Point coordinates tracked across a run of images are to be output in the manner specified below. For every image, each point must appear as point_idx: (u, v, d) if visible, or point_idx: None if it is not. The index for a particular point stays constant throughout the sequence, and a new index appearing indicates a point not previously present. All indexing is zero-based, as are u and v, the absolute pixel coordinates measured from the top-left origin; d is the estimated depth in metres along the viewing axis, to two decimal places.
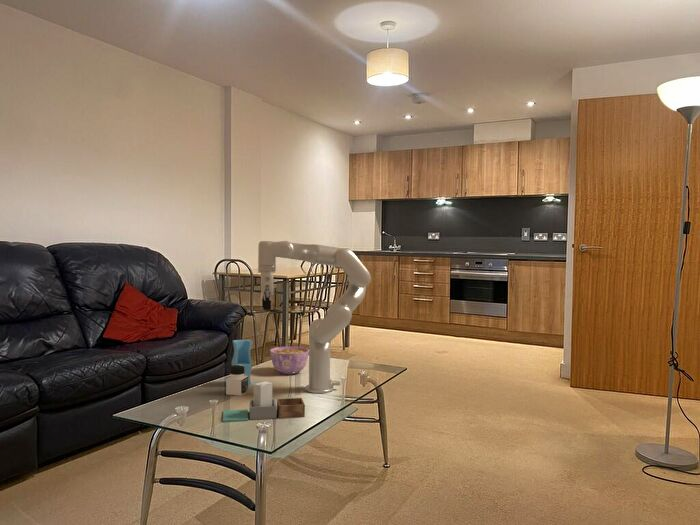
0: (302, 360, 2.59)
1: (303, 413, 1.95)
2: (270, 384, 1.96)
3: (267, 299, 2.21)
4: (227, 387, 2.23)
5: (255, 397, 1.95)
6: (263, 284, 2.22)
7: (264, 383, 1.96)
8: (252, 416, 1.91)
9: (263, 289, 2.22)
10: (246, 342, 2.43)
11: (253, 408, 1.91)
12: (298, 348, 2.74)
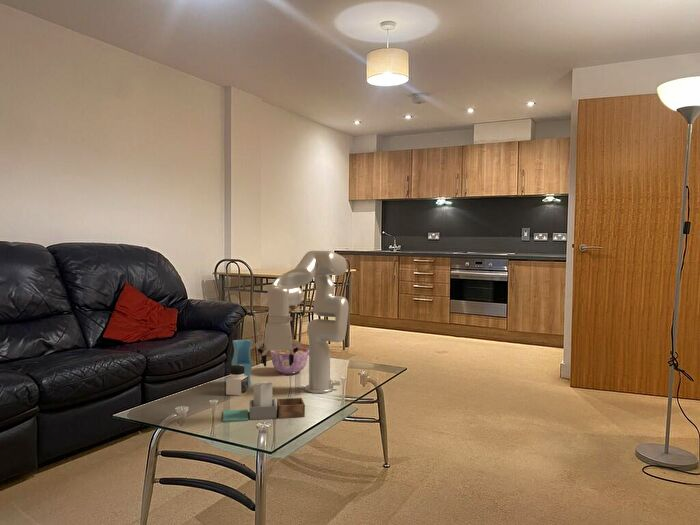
0: (302, 360, 2.59)
1: (303, 413, 1.95)
2: (270, 384, 1.96)
3: None
4: (227, 387, 2.23)
5: (255, 397, 1.95)
6: (291, 337, 1.96)
7: (264, 383, 1.96)
8: (252, 416, 1.91)
9: (291, 342, 1.96)
10: (246, 342, 2.43)
11: (253, 408, 1.91)
12: None
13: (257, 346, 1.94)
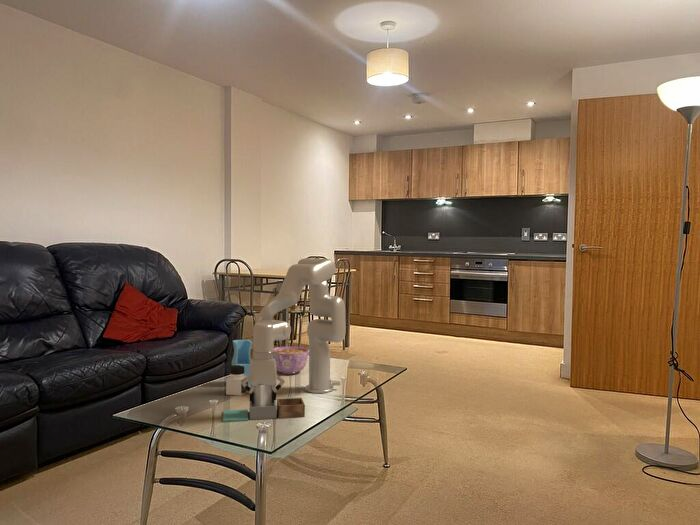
0: (302, 360, 2.59)
1: (303, 413, 1.95)
2: None
3: None
4: (227, 387, 2.23)
5: (255, 397, 1.95)
6: (276, 372, 1.95)
7: None
8: (252, 416, 1.91)
9: (276, 380, 1.96)
10: (246, 342, 2.43)
11: (253, 408, 1.91)
12: (298, 348, 2.74)
13: (244, 384, 1.94)
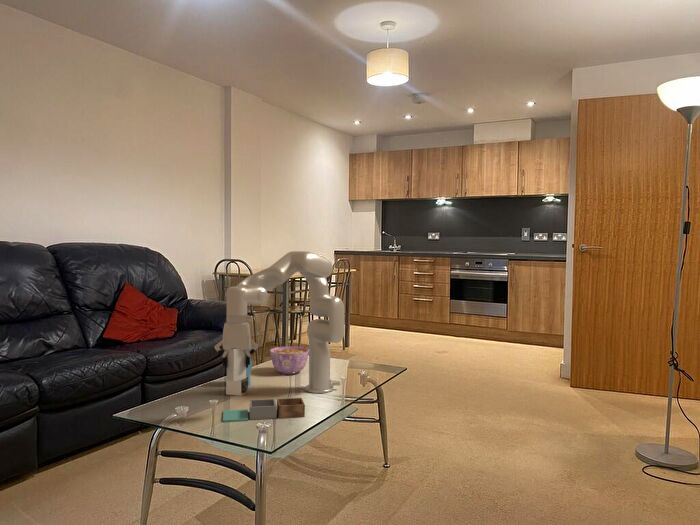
0: (302, 360, 2.59)
1: (303, 413, 1.95)
2: None
3: None
4: (227, 387, 2.23)
5: (228, 361, 1.92)
6: (249, 337, 1.93)
7: None
8: (252, 416, 1.91)
9: (249, 344, 1.93)
10: None
11: (253, 408, 1.91)
12: (298, 348, 2.74)
13: (217, 348, 1.92)
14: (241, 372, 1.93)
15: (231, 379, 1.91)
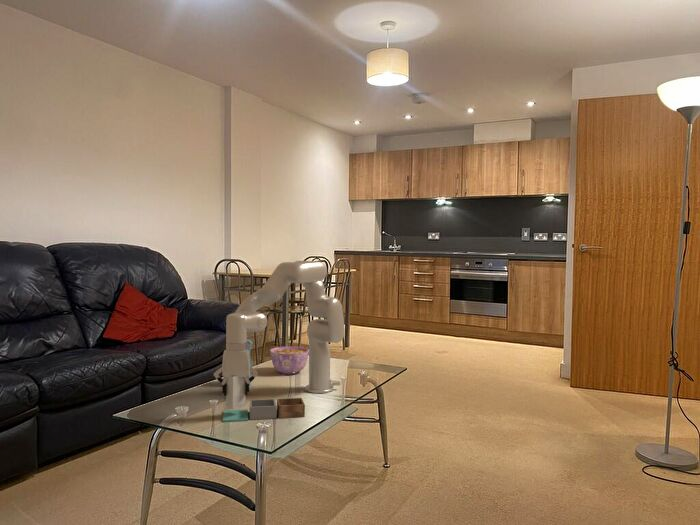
0: (302, 360, 2.59)
1: (303, 413, 1.95)
2: None
3: None
4: None
5: (228, 389, 1.92)
6: (249, 364, 1.93)
7: None
8: (252, 416, 1.91)
9: (249, 371, 1.93)
10: None
11: (253, 408, 1.91)
12: (298, 348, 2.74)
13: (216, 376, 1.92)
14: (240, 399, 1.93)
15: (230, 406, 1.92)
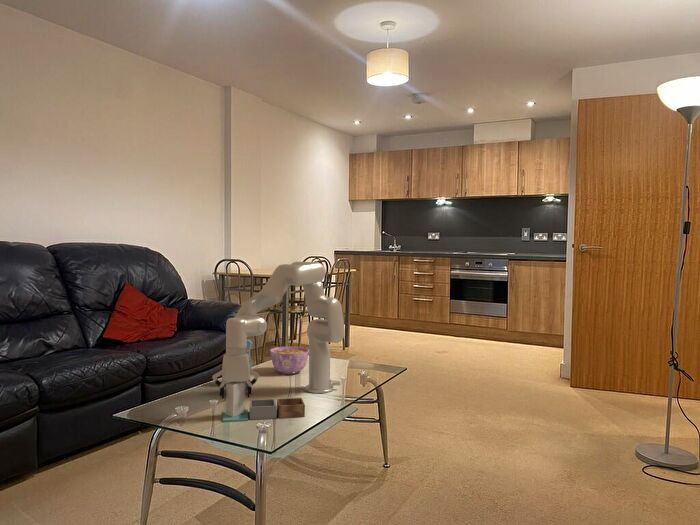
0: (302, 360, 2.59)
1: (303, 413, 1.95)
2: (243, 383, 1.94)
3: None
4: None
5: (228, 396, 1.92)
6: (249, 368, 1.93)
7: (237, 382, 1.94)
8: (252, 416, 1.91)
9: (249, 374, 1.93)
10: None
11: (253, 408, 1.91)
12: (298, 348, 2.74)
13: (214, 378, 1.92)
14: (240, 406, 1.94)
15: (230, 414, 1.92)
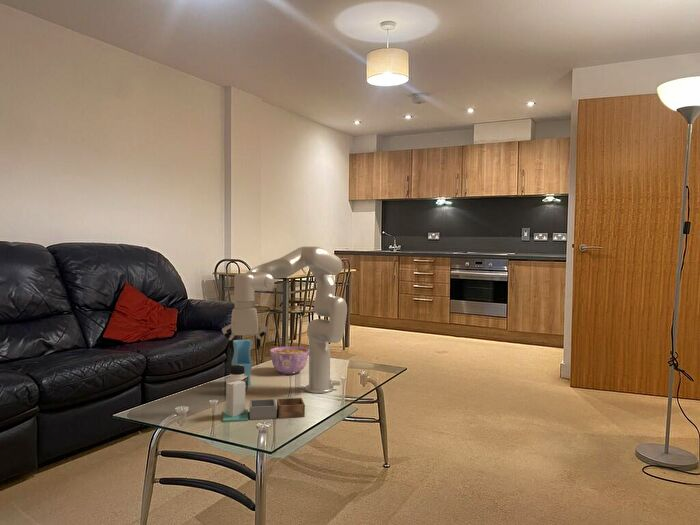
0: (302, 360, 2.59)
1: (303, 413, 1.95)
2: (243, 383, 1.94)
3: None
4: None
5: (228, 396, 1.92)
6: (257, 321, 2.01)
7: (237, 382, 1.94)
8: (252, 416, 1.91)
9: (257, 327, 2.01)
10: (246, 342, 2.43)
11: (253, 408, 1.91)
12: (298, 348, 2.74)
13: (224, 331, 1.99)
14: (240, 407, 1.94)
15: (230, 414, 1.92)
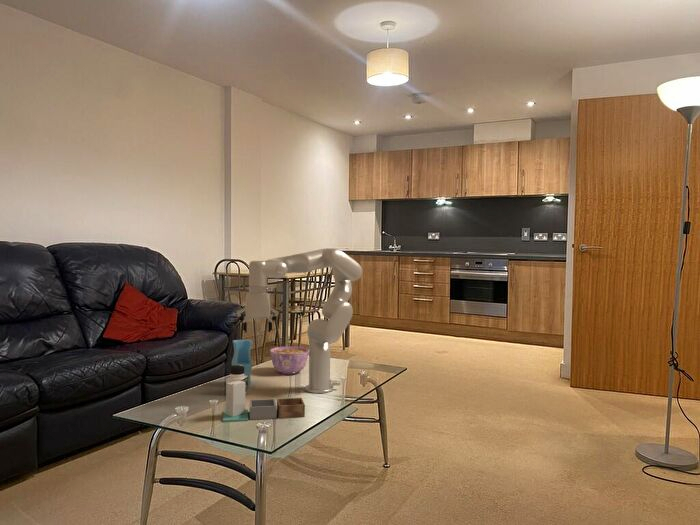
0: (302, 360, 2.59)
1: (303, 413, 1.95)
2: (243, 383, 1.94)
3: (273, 320, 2.16)
4: None
5: (228, 396, 1.92)
6: (269, 306, 2.14)
7: (237, 382, 1.94)
8: (252, 416, 1.91)
9: None
10: (246, 342, 2.43)
11: (253, 408, 1.91)
12: (298, 348, 2.74)
13: (238, 314, 2.13)
14: (240, 407, 1.94)
15: (230, 414, 1.92)
